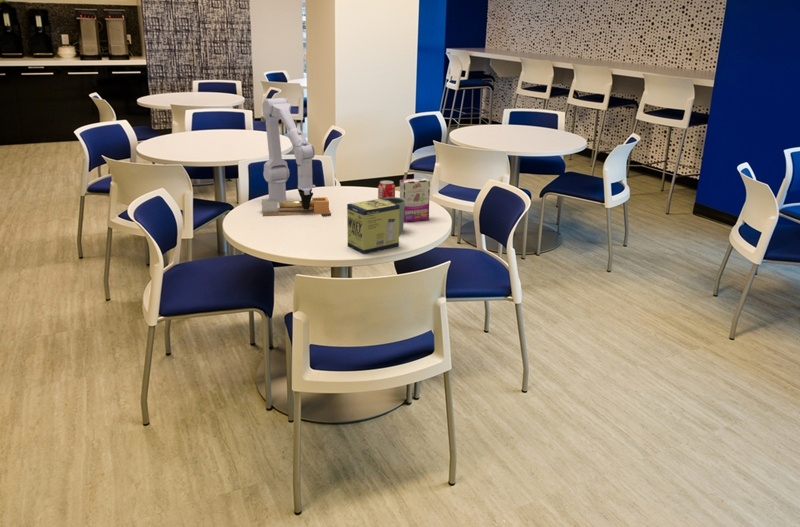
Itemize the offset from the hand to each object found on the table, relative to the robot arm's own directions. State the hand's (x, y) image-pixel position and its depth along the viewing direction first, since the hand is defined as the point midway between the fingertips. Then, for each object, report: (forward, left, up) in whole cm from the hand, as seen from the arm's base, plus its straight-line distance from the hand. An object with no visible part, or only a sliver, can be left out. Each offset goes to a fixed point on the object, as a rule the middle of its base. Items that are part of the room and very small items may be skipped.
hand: (305, 207), depth 277 cm
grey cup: (+29, +29, -2) cm, 41 cm away
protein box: (+46, +19, -2) cm, 50 cm away
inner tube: (0, -3, 0) cm, 3 cm away
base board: (0, -4, -2) cm, 5 cm away
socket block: (0, +6, -2) cm, 6 cm away
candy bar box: (+16, +41, -2) cm, 45 cm away
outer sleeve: (0, -15, -1) cm, 15 cm away
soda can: (0, +33, -2) cm, 34 cm away
